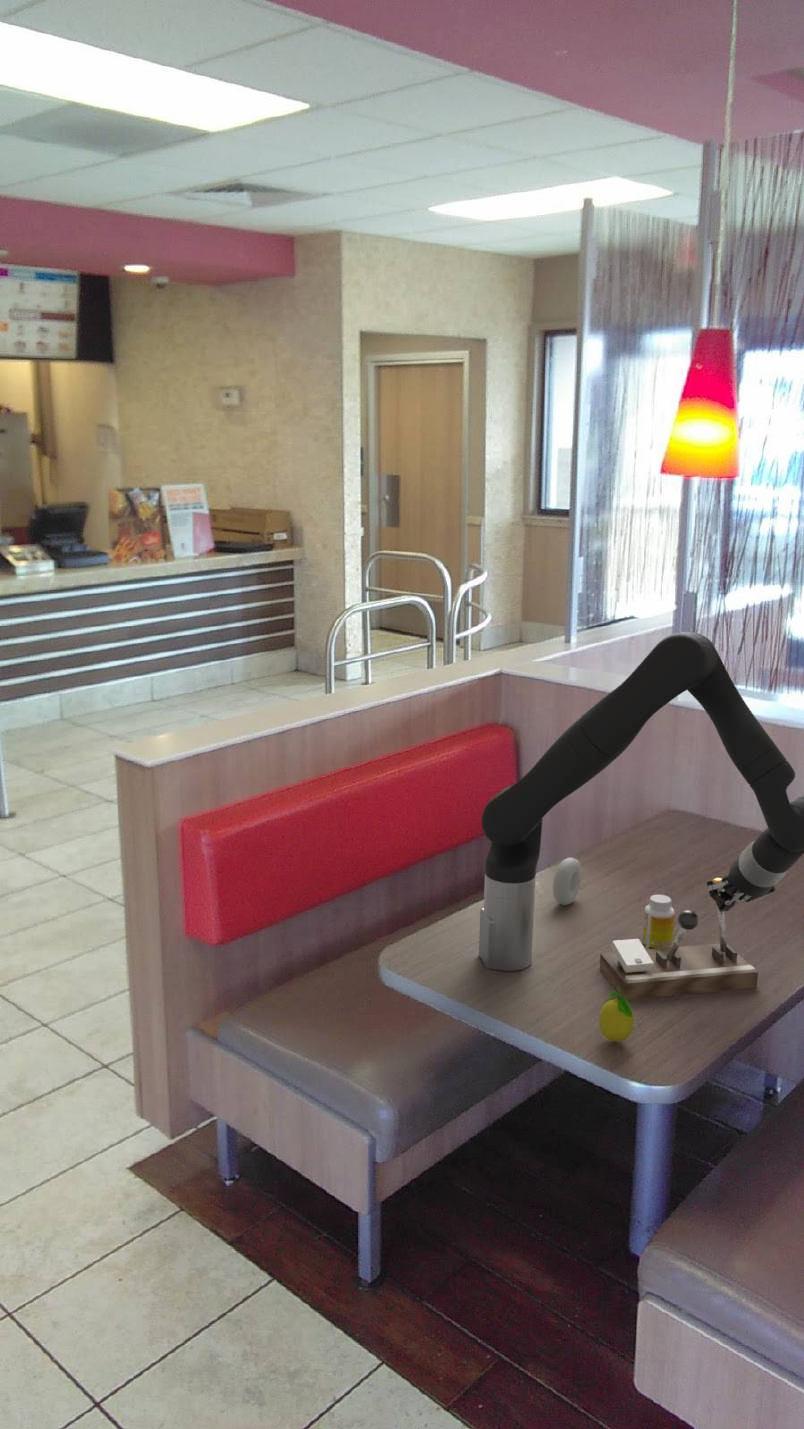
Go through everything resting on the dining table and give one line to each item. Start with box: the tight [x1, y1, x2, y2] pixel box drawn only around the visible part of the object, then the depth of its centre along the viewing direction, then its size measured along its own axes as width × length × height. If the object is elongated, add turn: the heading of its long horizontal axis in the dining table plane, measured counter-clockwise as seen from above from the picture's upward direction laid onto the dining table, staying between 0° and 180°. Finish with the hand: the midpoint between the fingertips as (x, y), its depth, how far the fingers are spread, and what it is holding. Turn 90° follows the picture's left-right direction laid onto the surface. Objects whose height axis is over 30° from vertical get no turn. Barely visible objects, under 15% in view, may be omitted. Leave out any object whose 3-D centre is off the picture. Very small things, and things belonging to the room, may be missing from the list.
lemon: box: [598, 986, 635, 1043], centre depth 181 cm, size 7×6×10 cm
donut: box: [552, 857, 583, 906], centre depth 234 cm, size 10×4×10 cm, turn 149°
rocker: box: [611, 938, 654, 973], centre depth 201 cm, size 5×7×2 cm
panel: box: [599, 943, 759, 1001], centre depth 203 cm, size 25×12×5 cm, turn 102°
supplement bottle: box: [642, 894, 675, 950], centre depth 214 cm, size 6×6×10 cm
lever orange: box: [711, 877, 728, 953], centre depth 205 cm, size 3×3×13 cm
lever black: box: [666, 909, 699, 961], centre depth 197 cm, size 3×3×14 cm
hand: (721, 906), depth 205 cm, fingers closed
